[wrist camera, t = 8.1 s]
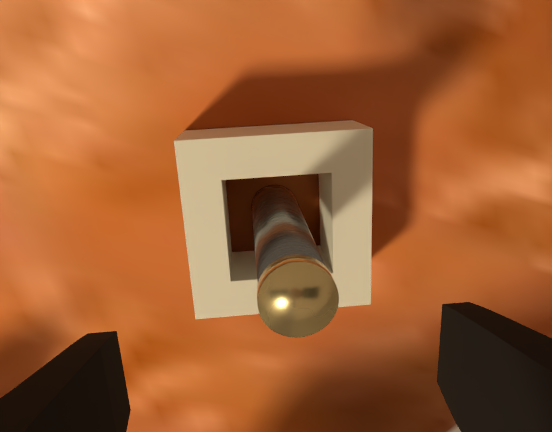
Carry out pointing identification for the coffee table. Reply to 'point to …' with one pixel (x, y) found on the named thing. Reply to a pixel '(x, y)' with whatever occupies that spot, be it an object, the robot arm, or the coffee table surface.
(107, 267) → the coffee table surface
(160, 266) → the coffee table surface
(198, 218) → the block with square hole
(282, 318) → the metal peg
